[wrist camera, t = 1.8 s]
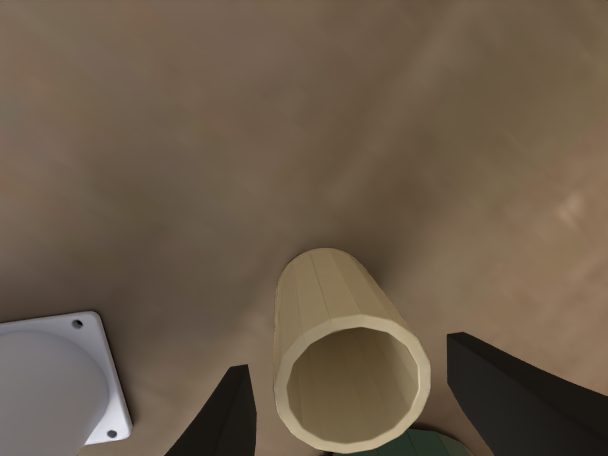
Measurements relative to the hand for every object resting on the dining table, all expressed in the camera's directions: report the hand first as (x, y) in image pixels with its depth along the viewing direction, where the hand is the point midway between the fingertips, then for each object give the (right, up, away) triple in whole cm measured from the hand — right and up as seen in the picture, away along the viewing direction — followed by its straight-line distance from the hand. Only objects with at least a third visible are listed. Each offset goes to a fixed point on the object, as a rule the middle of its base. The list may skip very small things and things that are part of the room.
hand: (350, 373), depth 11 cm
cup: (-1, +2, +7) cm, 7 cm away
